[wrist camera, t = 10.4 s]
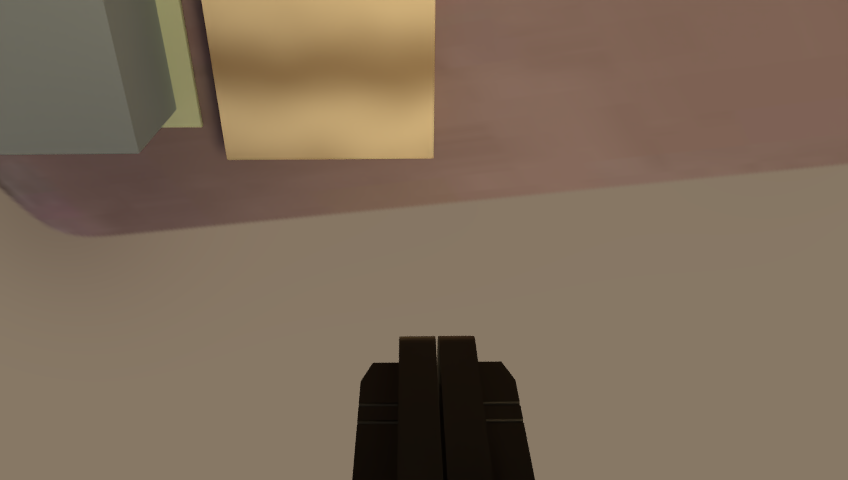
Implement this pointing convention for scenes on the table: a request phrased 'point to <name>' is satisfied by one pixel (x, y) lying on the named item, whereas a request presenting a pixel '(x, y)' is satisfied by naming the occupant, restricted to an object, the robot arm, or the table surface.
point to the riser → (323, 77)
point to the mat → (179, 65)
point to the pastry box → (81, 76)
